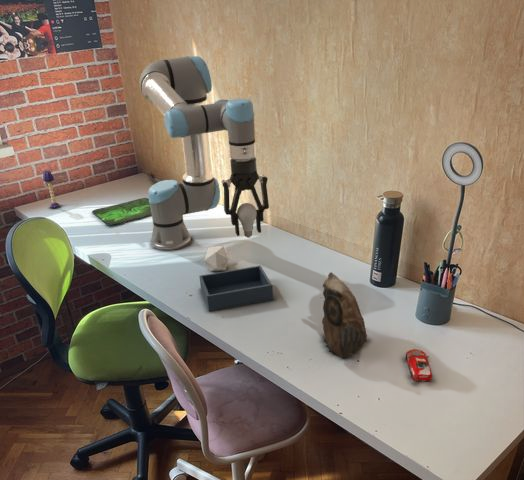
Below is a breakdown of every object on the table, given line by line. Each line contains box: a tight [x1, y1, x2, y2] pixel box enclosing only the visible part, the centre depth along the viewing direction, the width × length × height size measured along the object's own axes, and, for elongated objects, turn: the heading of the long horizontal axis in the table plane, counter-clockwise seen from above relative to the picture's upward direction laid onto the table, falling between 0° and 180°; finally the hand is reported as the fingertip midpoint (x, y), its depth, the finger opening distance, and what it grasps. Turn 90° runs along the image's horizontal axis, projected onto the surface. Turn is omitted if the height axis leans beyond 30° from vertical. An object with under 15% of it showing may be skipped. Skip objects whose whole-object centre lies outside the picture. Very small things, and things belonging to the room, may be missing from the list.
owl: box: [321, 271, 368, 359], centre depth 156 cm, size 13×13×20 cm
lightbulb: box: [236, 202, 257, 239], centre depth 174 cm, size 6×6×11 cm
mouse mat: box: [91, 197, 152, 226], centre depth 252 cm, size 27×22×1 cm
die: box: [204, 246, 230, 272], centre depth 201 cm, size 8×9×10 cm
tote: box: [198, 265, 274, 312], centre depth 186 cm, size 15×21×6 cm
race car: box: [405, 348, 433, 384], centre depth 149 cm, size 13×5×4 cm, turn 177°
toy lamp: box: [42, 169, 61, 210], centre depth 257 cm, size 5×5×17 cm
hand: (248, 232), depth 177 cm, fingers closed on lightbulb, 6 cm apart
